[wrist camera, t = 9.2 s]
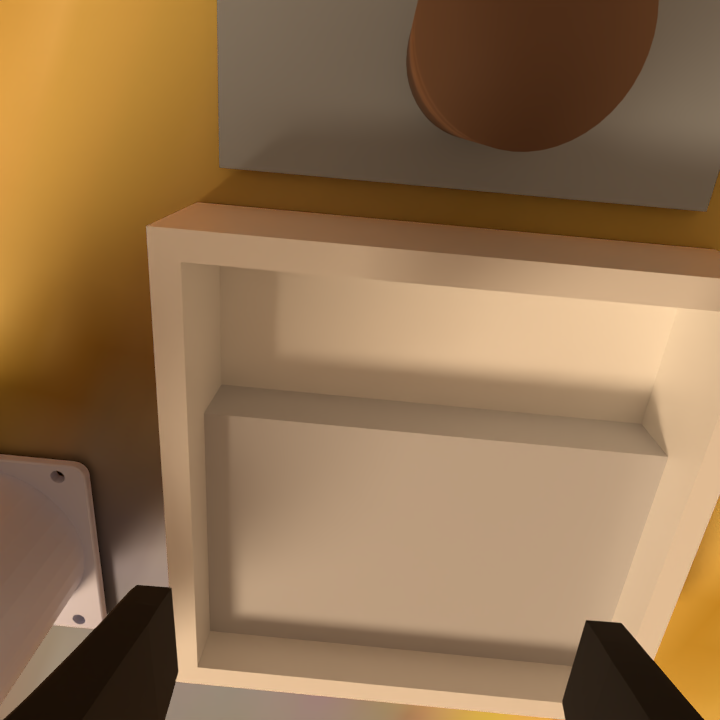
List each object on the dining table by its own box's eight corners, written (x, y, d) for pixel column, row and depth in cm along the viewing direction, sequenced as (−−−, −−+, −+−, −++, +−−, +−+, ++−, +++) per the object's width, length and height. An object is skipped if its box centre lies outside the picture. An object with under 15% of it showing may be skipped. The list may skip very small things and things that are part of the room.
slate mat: (222, 166, 17) (219, 167, 17) (219, -132, 14) (215, -139, 14) (699, 209, 17) (706, 211, 16) (790, -83, 14) (800, -88, 14)
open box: (208, 592, 24) (175, 681, 20) (197, 202, 17) (146, 225, 14) (589, 629, 23) (627, 725, 20) (714, 249, 17) (803, 286, 14)
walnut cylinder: (398, 133, 16) (402, 142, 10) (415, -38, 14) (431, -134, 9) (542, 146, 16) (623, 161, 10) (575, -24, 14) (690, -112, 9)
